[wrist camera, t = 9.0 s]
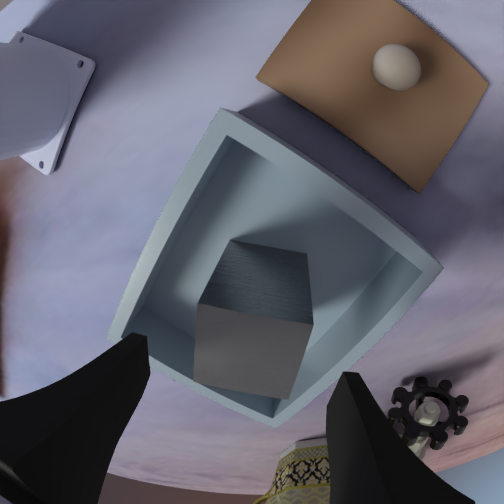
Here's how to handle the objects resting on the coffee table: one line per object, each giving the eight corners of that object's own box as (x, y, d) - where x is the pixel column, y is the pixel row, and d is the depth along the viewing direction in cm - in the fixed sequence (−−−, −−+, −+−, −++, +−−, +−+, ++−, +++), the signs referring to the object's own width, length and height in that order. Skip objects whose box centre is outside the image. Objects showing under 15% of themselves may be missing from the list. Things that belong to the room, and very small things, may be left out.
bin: (132, 303, 20) (105, 337, 17) (236, 111, 15) (220, 107, 11) (279, 386, 22) (275, 428, 18) (415, 237, 16) (443, 267, 13)
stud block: (257, 80, 14) (248, 67, 11) (336, -26, 11) (346, -57, 8) (412, 189, 15) (441, 207, 12) (479, 85, 12) (516, 81, 9)
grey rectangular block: (221, 304, 19) (193, 381, 13) (230, 239, 17) (197, 303, 11) (291, 317, 18) (288, 399, 13) (306, 253, 17) (313, 324, 11)
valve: (418, 448, 24) (454, 369, 20) (429, 499, 18) (482, 430, 14) (359, 458, 25) (380, 381, 21) (363, 512, 19) (396, 451, 15)
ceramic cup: (364, 417, 22) (378, 521, 13) (369, 466, 26) (376, 545, 17) (220, 435, 25) (197, 528, 16) (252, 480, 29) (241, 554, 19)
